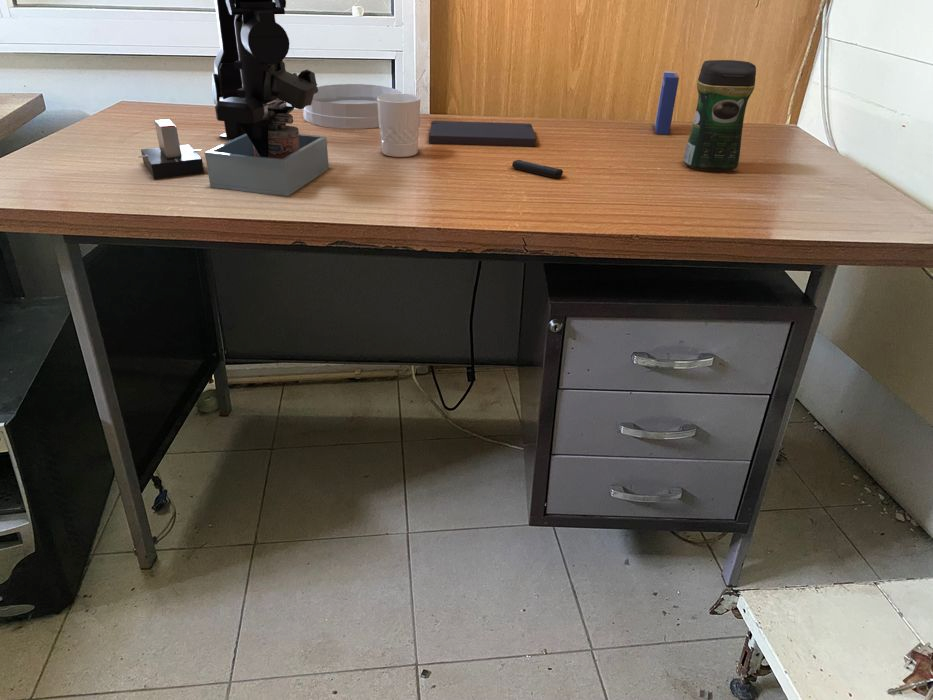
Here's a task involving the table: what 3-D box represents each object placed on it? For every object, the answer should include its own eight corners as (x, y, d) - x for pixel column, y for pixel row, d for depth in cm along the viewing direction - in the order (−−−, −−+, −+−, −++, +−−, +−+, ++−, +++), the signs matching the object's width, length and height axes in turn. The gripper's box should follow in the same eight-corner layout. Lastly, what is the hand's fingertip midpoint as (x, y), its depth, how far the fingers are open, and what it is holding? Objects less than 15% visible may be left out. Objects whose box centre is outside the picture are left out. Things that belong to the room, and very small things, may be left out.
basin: (258, 161, 125) (254, 129, 122) (328, 168, 122) (326, 136, 120) (210, 187, 112) (204, 152, 109) (287, 196, 109) (284, 160, 107)
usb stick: (564, 176, 123) (565, 167, 122) (556, 180, 121) (557, 171, 120) (518, 166, 127) (519, 157, 126) (510, 169, 125) (511, 160, 125)
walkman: (669, 135, 151) (679, 76, 144) (656, 134, 151) (665, 75, 145) (667, 126, 157) (677, 69, 151) (654, 125, 158) (663, 69, 152)
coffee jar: (729, 161, 134) (752, 57, 124) (740, 174, 127) (766, 65, 117) (678, 159, 134) (697, 55, 125) (687, 171, 127) (707, 62, 118)
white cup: (414, 159, 129) (413, 103, 124) (373, 156, 130) (371, 100, 125) (425, 148, 135) (425, 95, 130) (386, 145, 137) (384, 92, 131)
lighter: (252, 173, 116) (243, 114, 110) (259, 165, 119) (250, 106, 113) (299, 177, 116) (292, 118, 110) (305, 169, 119) (299, 110, 112)
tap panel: (136, 164, 121) (133, 148, 120) (197, 157, 126) (194, 142, 125) (147, 180, 114) (143, 164, 113) (211, 172, 119) (208, 157, 117)
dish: (363, 102, 170) (362, 80, 167) (424, 119, 157) (424, 95, 154) (284, 114, 156) (281, 91, 154) (342, 134, 143) (341, 109, 140)
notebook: (428, 143, 139) (535, 146, 139) (428, 135, 138) (536, 138, 138) (431, 127, 150) (530, 131, 150) (431, 120, 149) (531, 123, 149)
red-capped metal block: (160, 150, 120) (153, 118, 118) (174, 148, 121) (168, 117, 119) (166, 159, 116) (160, 126, 113) (181, 157, 117) (176, 125, 114)
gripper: (277, 67, 98) (288, 176, 106) (331, 49, 114) (337, 145, 122) (205, 61, 100) (222, 169, 108) (268, 44, 116) (278, 139, 124)
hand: (269, 155), depth 115 cm, fingers closed on lighter, 3 cm apart
